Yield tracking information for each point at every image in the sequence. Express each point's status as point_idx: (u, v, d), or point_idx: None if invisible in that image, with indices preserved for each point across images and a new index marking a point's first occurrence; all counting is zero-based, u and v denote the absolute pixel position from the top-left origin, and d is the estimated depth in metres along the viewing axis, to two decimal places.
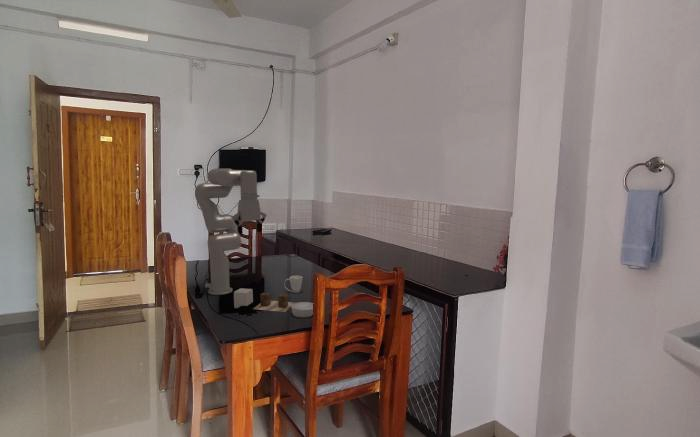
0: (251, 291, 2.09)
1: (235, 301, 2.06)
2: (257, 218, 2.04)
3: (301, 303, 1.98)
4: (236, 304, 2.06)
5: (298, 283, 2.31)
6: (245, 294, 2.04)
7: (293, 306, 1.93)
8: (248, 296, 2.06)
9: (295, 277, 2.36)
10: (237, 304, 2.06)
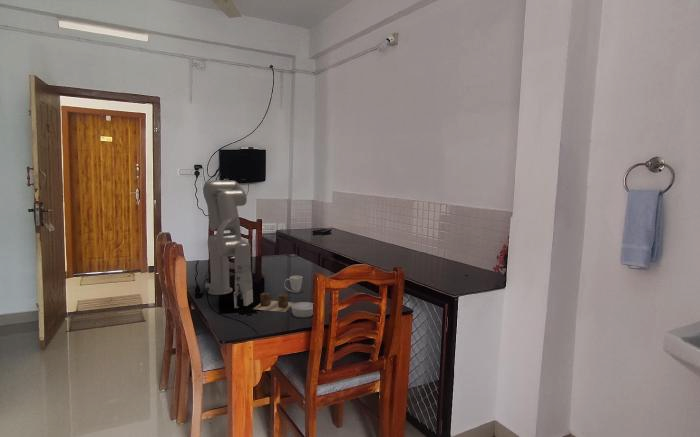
0: (251, 291, 2.09)
1: (235, 301, 2.06)
2: None
3: (301, 303, 1.98)
4: (236, 304, 2.06)
5: (298, 283, 2.31)
6: (245, 294, 2.04)
7: (293, 306, 1.94)
8: (248, 296, 2.06)
9: (295, 277, 2.36)
10: None
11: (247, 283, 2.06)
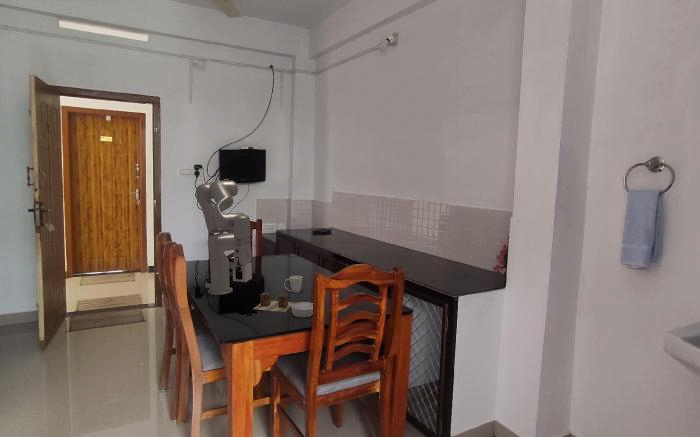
0: (250, 264, 2.08)
1: (234, 274, 2.05)
2: None
3: (301, 303, 1.98)
4: (234, 277, 2.05)
5: (298, 283, 2.31)
6: (244, 267, 2.03)
7: (293, 306, 1.93)
8: (247, 269, 2.05)
9: (295, 277, 2.36)
10: None
11: (246, 256, 2.05)
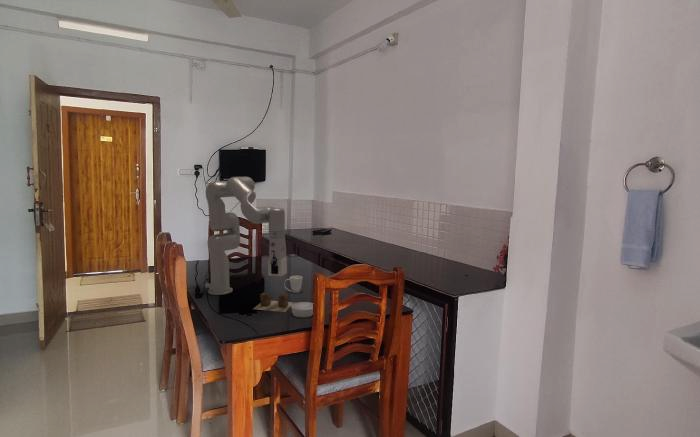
0: (285, 259, 2.03)
1: (269, 268, 2.00)
2: None
3: (301, 303, 1.98)
4: (270, 272, 2.00)
5: (298, 283, 2.31)
6: (280, 261, 1.98)
7: (293, 306, 1.93)
8: (283, 263, 2.00)
9: (295, 277, 2.36)
10: None
11: (281, 250, 2.00)
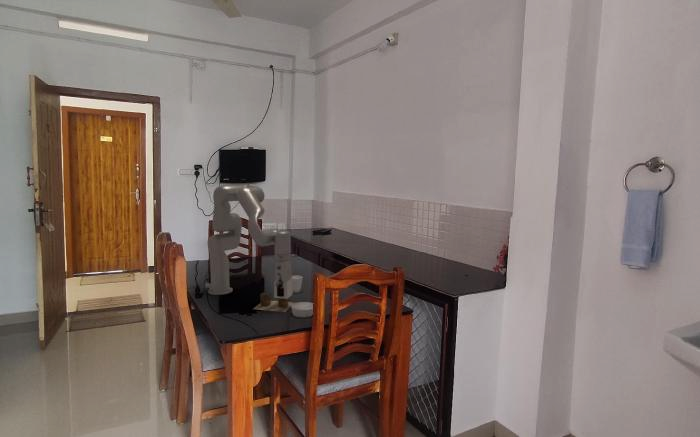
0: (291, 281, 2.04)
1: (275, 291, 2.01)
2: None
3: (301, 303, 1.98)
4: (276, 294, 2.01)
5: (298, 283, 2.31)
6: (286, 283, 1.99)
7: (293, 306, 1.93)
8: (288, 286, 2.01)
9: (295, 277, 2.36)
10: None
11: (287, 272, 2.01)
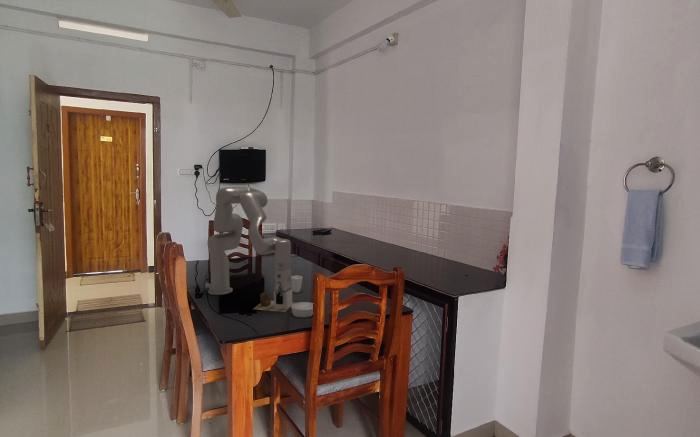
0: (291, 291, 2.05)
1: (275, 301, 2.01)
2: None
3: (301, 303, 1.98)
4: (276, 305, 2.02)
5: (298, 283, 2.31)
6: (286, 294, 2.00)
7: (293, 306, 1.93)
8: (288, 296, 2.02)
9: (295, 277, 2.36)
10: (277, 304, 2.01)
11: (287, 281, 2.01)
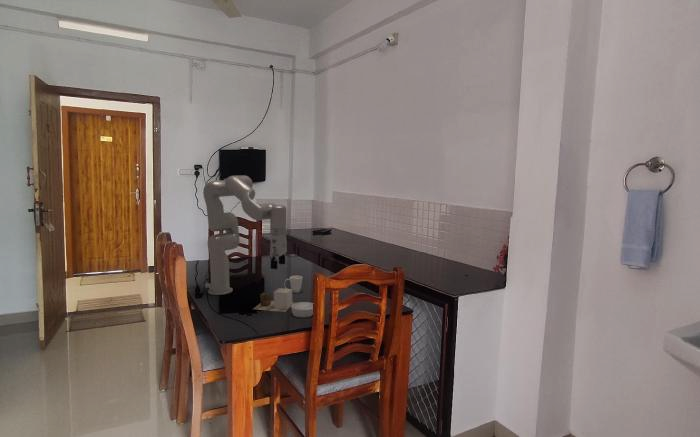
0: (291, 291, 2.05)
1: (275, 301, 2.01)
2: None
3: (301, 303, 1.98)
4: (276, 305, 2.02)
5: (298, 283, 2.31)
6: (286, 294, 2.00)
7: (293, 306, 1.93)
8: (288, 296, 2.02)
9: (295, 277, 2.36)
10: (277, 304, 2.01)
11: (282, 246, 2.04)
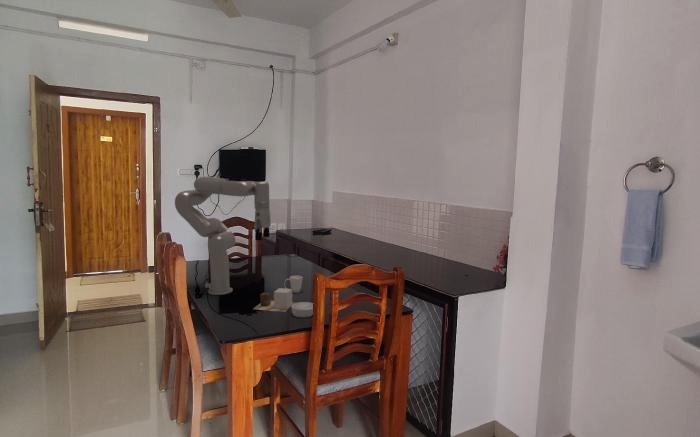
0: (291, 291, 2.05)
1: (275, 301, 2.01)
2: None
3: (301, 303, 1.98)
4: (276, 305, 2.02)
5: (298, 283, 2.31)
6: (286, 294, 2.00)
7: (293, 306, 1.93)
8: (288, 296, 2.02)
9: (295, 277, 2.36)
10: (277, 304, 2.01)
11: (266, 219, 2.21)
